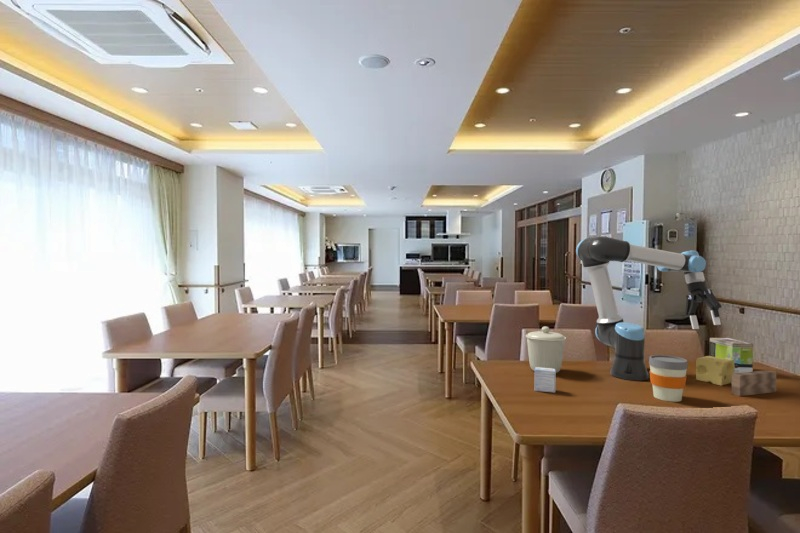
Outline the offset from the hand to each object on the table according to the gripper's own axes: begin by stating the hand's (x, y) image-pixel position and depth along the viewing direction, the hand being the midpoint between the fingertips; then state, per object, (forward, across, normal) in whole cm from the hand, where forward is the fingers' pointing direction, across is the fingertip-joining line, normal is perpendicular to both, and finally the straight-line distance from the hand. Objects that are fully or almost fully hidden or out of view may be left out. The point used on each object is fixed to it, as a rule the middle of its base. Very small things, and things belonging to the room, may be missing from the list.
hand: (706, 327), depth 194 cm
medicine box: (+26, -17, +86) cm, 91 cm away
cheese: (+24, -5, +6) cm, 26 cm away
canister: (+18, +10, +74) cm, 77 cm away
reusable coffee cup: (+30, -26, +42) cm, 58 cm away
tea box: (+20, +11, -15) cm, 27 cm away
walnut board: (+29, -21, +3) cm, 36 cm away
